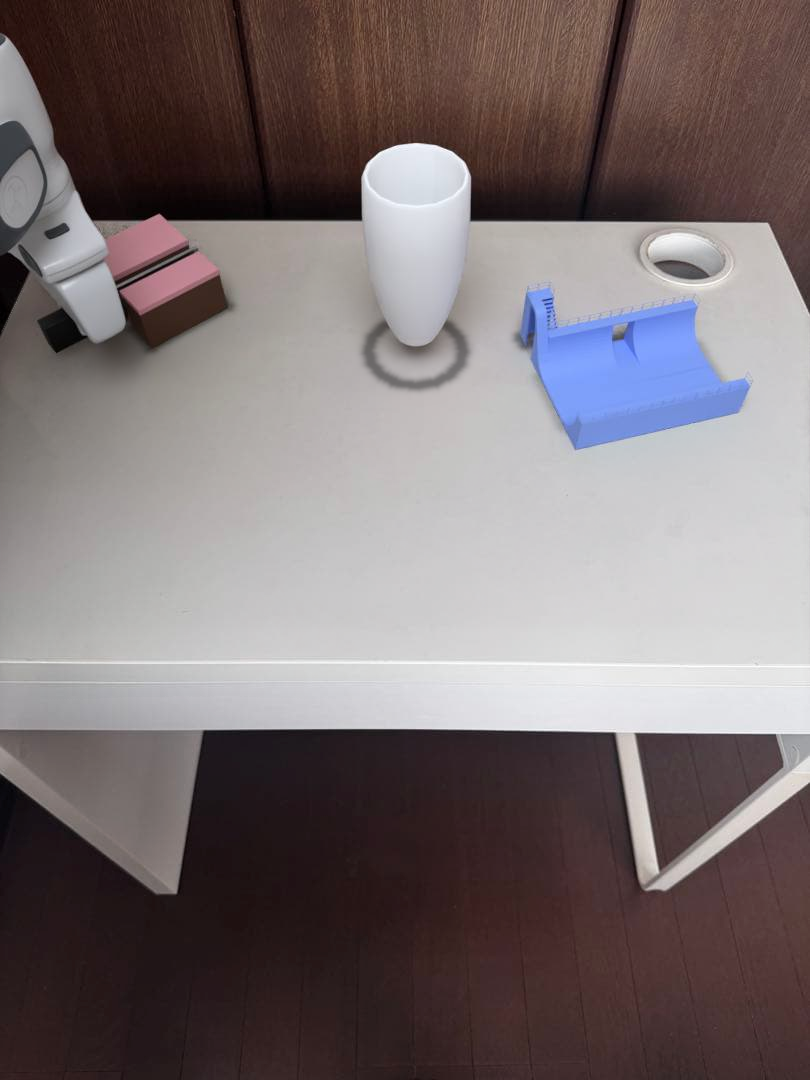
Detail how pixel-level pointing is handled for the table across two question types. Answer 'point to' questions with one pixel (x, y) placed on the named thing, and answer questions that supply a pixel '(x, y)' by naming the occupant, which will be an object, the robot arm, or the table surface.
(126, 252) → the cake
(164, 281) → the cake slice
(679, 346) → the half pipe
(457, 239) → the cup
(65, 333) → the knife
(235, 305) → the table surface
